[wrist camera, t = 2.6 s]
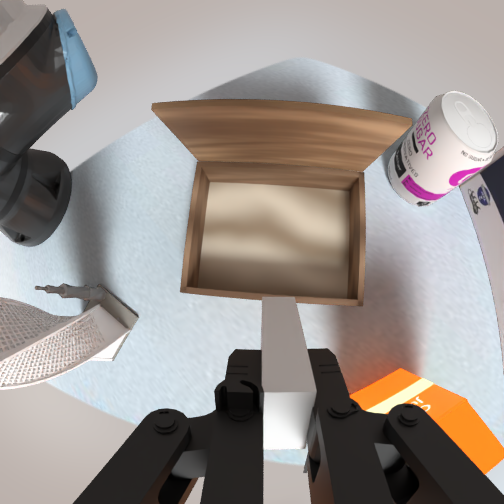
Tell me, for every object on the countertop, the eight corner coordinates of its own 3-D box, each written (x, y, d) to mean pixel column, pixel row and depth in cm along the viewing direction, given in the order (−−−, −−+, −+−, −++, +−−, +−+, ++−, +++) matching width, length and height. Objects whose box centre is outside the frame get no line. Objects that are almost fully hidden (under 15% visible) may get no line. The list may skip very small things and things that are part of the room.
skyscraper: (147, 324, 34) (-72, 342, 6) (118, 374, 33) (-73, 437, 5) (100, 284, 35) (-100, 244, 8) (74, 333, 34) (-111, 340, 7)
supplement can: (448, 194, 34) (513, 147, 19) (406, 218, 34) (472, 170, 19) (418, 144, 35) (468, 81, 21) (374, 162, 35) (419, 93, 20)
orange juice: (335, 400, 31) (396, 494, 11) (400, 366, 31) (508, 414, 11) (355, 448, 29) (413, 549, 10) (416, 415, 29) (509, 482, 10)
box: (350, 305, 33) (362, 306, 28) (193, 293, 34) (180, 292, 29) (353, 188, 35) (363, 172, 30) (206, 179, 36) (197, 161, 31)
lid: (362, 171, 29) (412, 125, 16) (198, 161, 31) (151, 109, 18) (362, 167, 29) (411, 118, 16) (199, 156, 31) (152, 103, 18)
